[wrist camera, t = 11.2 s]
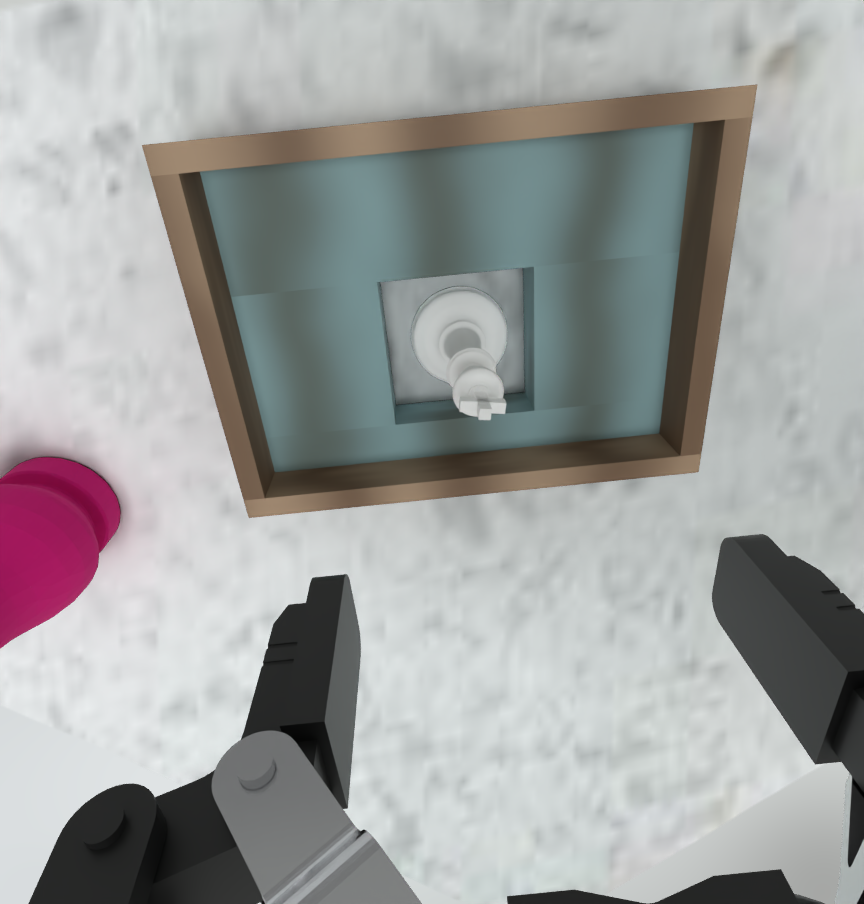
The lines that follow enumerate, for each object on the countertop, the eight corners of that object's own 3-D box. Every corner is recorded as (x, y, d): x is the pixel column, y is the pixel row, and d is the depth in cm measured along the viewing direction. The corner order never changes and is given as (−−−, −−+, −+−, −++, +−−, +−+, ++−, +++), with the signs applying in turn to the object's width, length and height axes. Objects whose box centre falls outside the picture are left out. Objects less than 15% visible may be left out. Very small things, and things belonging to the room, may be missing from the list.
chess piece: (413, 283, 28) (420, 344, 19) (512, 289, 28) (565, 351, 19) (408, 378, 30) (412, 472, 21) (500, 382, 30) (542, 476, 22)
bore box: (693, 96, 25) (757, 84, 20) (657, 428, 32) (698, 472, 28) (188, 146, 25) (141, 145, 20) (269, 467, 32) (248, 517, 28)
